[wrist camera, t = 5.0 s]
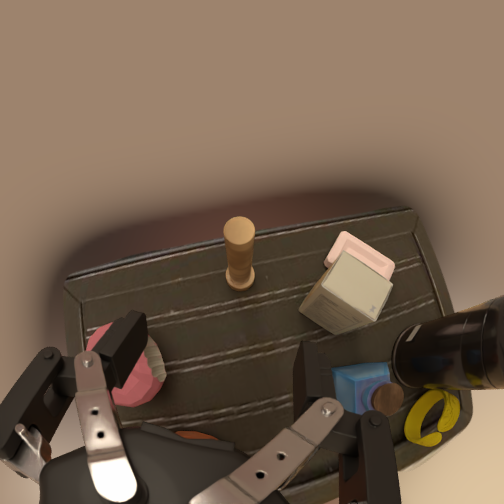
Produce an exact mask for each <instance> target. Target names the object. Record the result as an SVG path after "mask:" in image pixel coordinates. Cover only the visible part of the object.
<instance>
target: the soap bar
mask: <svg viewBox="0 0 504 504" xmlns="http://www.w3.org/2000/svg"><path fill="white" fill-rule="evenodd" d="M343 250H344V251H346V252H348V253H349V254H351V255H352V256H354V257H356V258H357V259H359V260H360V261H362V262H363V263H365V264H366V265H368V266H369V267H371V268H372V269H374V270H375V271H376V272H378V273H379V274H381V275H382V276H383V277H385V278H386V279H387V280H388V281H389V280H390V278H391V275H392V273H393V270H394V268H395V265H394V262H393V261H391V260H390V259H388V258H387V257H385V256H384V255H382V254H381V253H379V252H377V251H376V250H374V249H373V248H371V247H370V246H368V245H367V244H365V243H364V242H362V241H360V240H359V239H357V238H356V237H354V236H352V235H351V234H349V233H348V232H346V231H344V232H341V233H340V235H339V236H338V238H337V240H336V242H335V243H334V245H333V247H332V249H331V250H330V252H329V254H328V256H327V257H326V259H325V261H324V264H325V266H326V267H327V268H329V267H330V266H331V265H332V263H333V262H334V261H335V260H336V259H337V257H338V256H339V255H340V253H341V252H342V251H343Z"/></svg>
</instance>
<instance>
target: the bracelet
mask: <svg viewBox="0 0 504 504" xmlns="http://www.w3.org/2000/svg"><path fill="white" fill-rule="evenodd" d="M442 398H444V401H445V406H444V410H443V413H442V415H441V417H440V419H439V421H438V424H437V429H438V431H440V432H445V431H448V430H450V429H451V428H452V427H453V426H454V425H455V423H456V421H457V419H458V416H459V412H460V404H459V401H458V399H457V398H456V397H455V396H453V395H452V394H450V393H448V392H446V391H444V390H442V389H431V390H429V391H427V392H426V393H424V394H423V395H422V396H421V397H420V398H419V399H418V400H417V402H416V403H415V404H414V405H413V407H412V408H411V410H410V412H409V414H408V416H407V418H406V421H405V426H404V432H405V436H406V438H407V439H408V440H409V441H411V442H413V443H417V444H419V445H423V446H426V447H431V446H434V445H436V444H438V443H439V442H440V441H441V439H442V435H441V433H439V432H434V433H431V434H429V435H427V436H425V437H423V438H421V437H420V428H421V424H422V421H423V419H424V417H425V415H426V413H427V412H428V411H429V409H430V408H431V407H432V406H433V405H434V404H435V403H436V402H437V401H439V400H440V399H442Z"/></svg>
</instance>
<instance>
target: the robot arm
mask: <svg viewBox="0 0 504 504" xmlns="http://www.w3.org/2000/svg"><path fill="white" fill-rule="evenodd" d="M147 343H148V330H147V321H146V315H145V313H141V312H137V311H133V310H131V311H130V312H129V313H128V314H127V316H126V317H125V318H122V317H121V318H119V319H117V320H116V321H114V322H113V323H112V324H111V326H110V327H109V329H107V331H106V332H105V334H103V336H102V337H101V338H100V339H99V341H98V342H97V343H96V345H95V346H94V347H93V348H92V350H91V351H83V352H81V353H79V354H78V355H77V356H76V357H65V356H61V353H60V351H59V350H58V349H57V348H55V347H46V348H44V349H42V350H41V351H40V352H39V353H38V354H37V356H36V357H35V358H34V359H33V361H32V362H31V363H30V365H29V366H28V367H27V368H26V370H25V371H24V372H23V374H22V375H21V376H20V378H19V379H18V380H17V382H16V383H15V384H14V386H13V387H12V389H11V390H10V392H9V393H8V394H7V396H6V397H5V399H4V400H3V401H2V403H1V404H0V460H1V461H2V462H3V463H4V464H5V465H7V466H8V467H9V468H10V469H12V470H13V471H15V472H16V473H17V474H18V475H20V476H21V477H23V478H30V479H31V480H33V481H35V482H36V483H38V484H39V486H40V501H39V504H289V502H288V501H287V500H286V499H285V498H284V497H283V495H282V494H281V493H280V491H281V490H282V489H283V488H284V487H285V486H286V485H287V484H288V483H289V482H290V481H291V480H292V479H293V478H294V477H295V476H296V475H297V474H298V472H299V471H300V470H301V469H302V468H303V467H304V466H305V465H306V464H307V463H308V462H309V461H310V459H311V458H312V457H313V456H314V455H315V454H316V453H317V452H318V450H319V449H320V448H323V449H327V450H330V451H334V452H337V453H339V504H401V495H400V487H399V479H398V471H397V465H396V458H395V452H394V447H393V441H392V436H391V431H390V426H389V421H388V418H387V417H386V416H385V415H384V414H383V413H382V412H380V411H377V410H368V411H366V412H364V413H363V414H362V415H360V414H356V413H353V412H349V411H347V410H345V409H344V408H343V406H342V404H341V403H340V402H339V401H337V398H336V392H335V386H334V380H333V376H332V375H333V374H332V370H331V363H330V360H329V358H328V357H327V355H326V354H325V353H318V350H317V343H316V342H309V341H301V343H300V346H299V349H298V352H297V356H296V359H295V362H294V367H293V402H294V424H293V425H292V426H291V427H286V428H284V429H283V430H282V431H281V432H280V433H279V434H278V435H277V436H275V437H274V438H273V439H272V440H271V441H270V442H269V443H268V444H266V445H265V446H264V447H263V448H262V449H261V450H259V451H258V452H257V453H256V454H255V455H254V456H252V457H250V456H249V455H247V454H245V453H244V452H242V451H240V450H237V449H235V448H234V446H235V443H234V442H228V441H222V440H216V439H188V438H184V437H182V436H180V435H178V434H176V433H174V432H172V431H170V430H168V429H166V428H164V427H160V426H157V425H153V424H150V423H147V422H144V421H143V423H142V425H141V427H127V428H123V426H122V424H121V421H120V418H119V415H118V412H117V408H116V405H115V401H114V398H113V394H112V390H113V388H114V387H116V388H119V389H122V388H123V386H124V384H125V383H126V381H127V379H128V377H129V375H130V374H131V372H132V370H133V368H134V367H135V365H136V363H137V361H138V360H139V358H140V356H141V355H142V353H143V351H144V349H145V348H146V346H147ZM392 367H393V371H394V374H395V376H396V378H397V379H398V380H399V382H400V383H402V384H403V385H404V386H406V387H410V388H428V389H450V390H486V389H504V295H502V296H500V297H497V298H495V299H492V300H490V301H487V302H484V303H482V304H479V305H476V306H474V307H471V308H468V309H465V310H462V311H460V312H457V313H454V314H450V315H447V316H444V317H441V318H438V319H435V320H431V321H428V322H424V323H419V324H415V325H412V326H409V327H408V328H406V329H405V330H404V331H403V332H402V333H401V334H400V335H399V337H398V338H397V340H396V342H395V345H394V348H393V352H392ZM49 386H50V387H49ZM48 388H49V389H48ZM47 389H48V390H47ZM46 391H47V392H46ZM44 394H45V395H44ZM74 397H76V403H77V409H78V415H79V420H80V425H81V430H82V435H83V439H84V443H85V446H83V447H81V448H78V449H76V450H73V451H71V452H69V453H66V454H64V455H61V456H59V457H57V458H54V459H52V460H51V447H50V445H49V443H50V441H51V439H52V437H53V435H54V434H55V431H56V430H57V428H58V426H59V424H60V422H61V420H62V418H63V416H64V415H65V413H66V411H67V409H68V407H69V406H70V404H71V402H72V400H73V399H74Z"/></svg>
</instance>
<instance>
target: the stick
mask: <svg viewBox="0 0 504 504" xmlns="http://www.w3.org/2000/svg"><path fill="white" fill-rule="evenodd" d="M254 237H255V228H254V225H253V223H252V222H251V221H250V220H249V219H247V218H245V217H234V218H232V219H230V220H229V221H228V222H227V223H226V224H225V226H224V239H225V246H226V253H227V260H228V268H227V270H226V280H227V283H228V285H229V287H230V288H232V289H233V290H235V291H245V290H247V289H249V288H250V287H251V286H252V284H253V282H254V277H255V273H254V269H253V268H252V257H253V247H254Z"/></svg>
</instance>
